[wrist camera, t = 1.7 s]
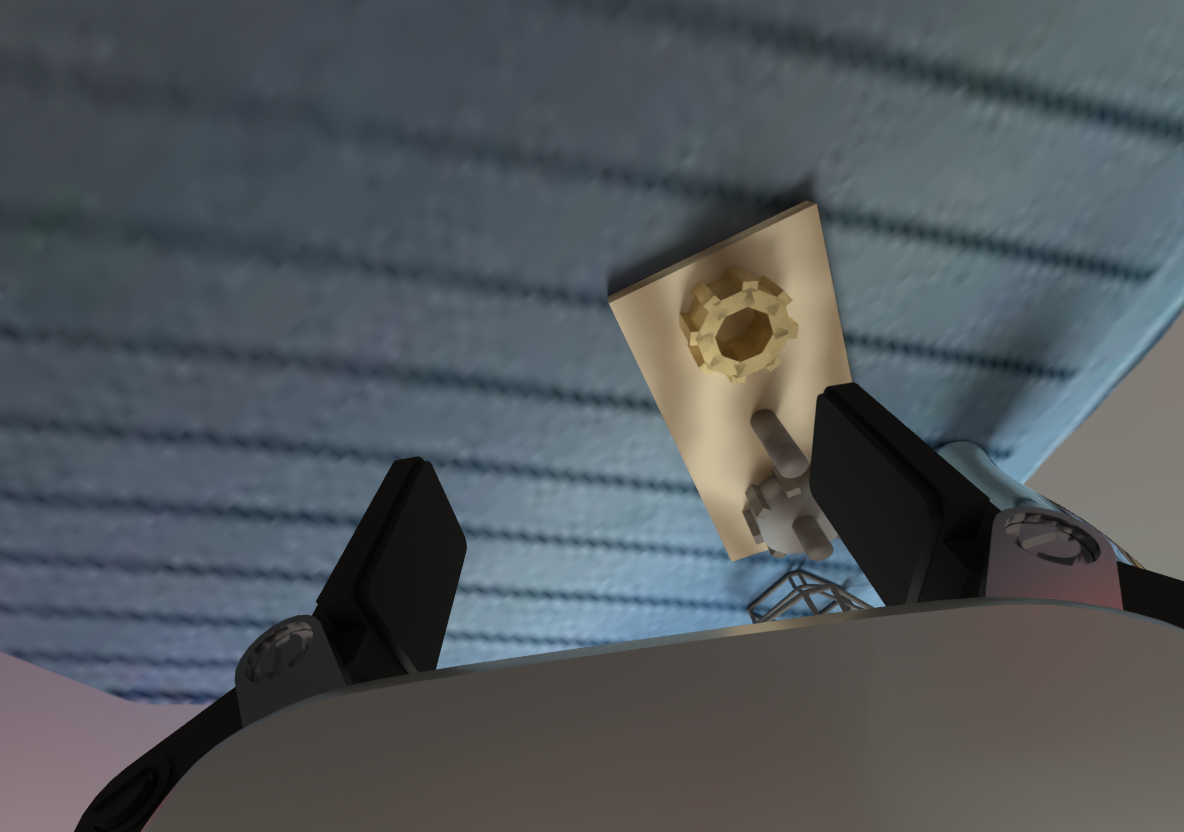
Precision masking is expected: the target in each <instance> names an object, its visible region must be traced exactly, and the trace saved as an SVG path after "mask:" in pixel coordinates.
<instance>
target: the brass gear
mask: <svg viewBox="0 0 1184 832" xmlns="http://www.w3.org/2000/svg"><path fill="white" fill-rule="evenodd" d="M691 290H692V292H693V293H694V294H695V298H694V300H693V302H692V304H691V306H690V308H689V310H688V313H680V318H679V326H680V328H681V330H682V332H683V334H684V336H685V337H686V339H687V341H688V343H689V346H688V348H689V350H690V352H691V354H692V356H693V358H694V360H695V362H696V364H697V366H698V367H699V369H700V370H702V371H703V372H704V373H705V374H706V375H707V376H709V375H710V374H711V373H712V372H713V371H716V372H720V373H723V374H726V376H727V377H728V379H729V381H730V382H731V384H732V383H745V378H746V375H748V374H751V373H753V372H756V371H758V370H760V369H763V368H765V367H766V368H767V369H768V370H769V371H770V372H771V371H772V370H774V369H775V368H776V367H777V366H778V365H780V364H781V363H782V362H781V361H780V360H779V359H778V358H777V357H778V355H779V354H780V352H781V350H782V349H783V347H784V345H785V344H786V342H787V340H788V339H797V334H798V329H799V324H797V323H796V322H795V321H794V320H793V319H792V318H790V317H789V316H788V313H787V309H786V306H787V305H788V304H789V303H790V302H792V301H793V300H792V299H791V297H790V296H789V295H788V294H787V293H786V292H785V291H784V290H783V289H782V288H780V287H779V286H778V285H776V284H775V283H774V282H772V281H771V280H770V279H768V278H767V277H766V276H764V275H763V276H762V277H761V278H760V279H759V280H757V279H756V278H754V277H753V276H752V275H751V274H749V273H748V272H747V271H746V270H744V269H743V268H742V267H741V266H735V267H726V275H725V276H723V277H721V278H719V279H716V280H714V281H712V282H710V283H708V284H705V283H704V282H703V281H702V280H700V281H699V282H698V283H697V284H696V285H695V286H694V287H693V288H692V289H691ZM746 307H750V308H752V309H753V311H754V314H755V315H754V317H753V319H752V320H751V322H750V324H749V326H748V328H747V329H746V331H745V333H743V334H741V335H739V336H736V337H734V338H732V339H729V340H727V341H724V340H721V339H717V338H715V336H716V334H717V332H718V330H719V328H720V326H721V324H722V322H723V321H724V319H725V317H726V316H728V315H731V314H733V313H735V312H737V311H740V310H742V309H744V308H746Z"/></svg>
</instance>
